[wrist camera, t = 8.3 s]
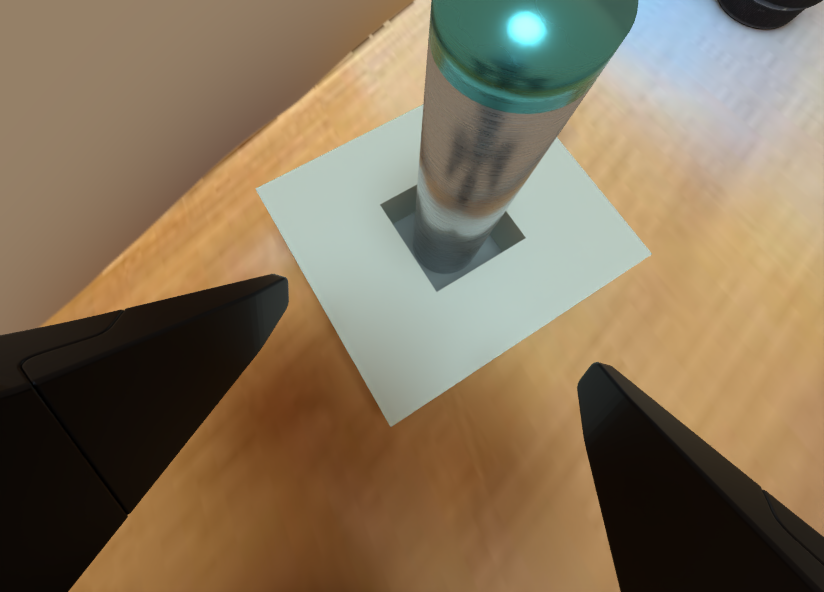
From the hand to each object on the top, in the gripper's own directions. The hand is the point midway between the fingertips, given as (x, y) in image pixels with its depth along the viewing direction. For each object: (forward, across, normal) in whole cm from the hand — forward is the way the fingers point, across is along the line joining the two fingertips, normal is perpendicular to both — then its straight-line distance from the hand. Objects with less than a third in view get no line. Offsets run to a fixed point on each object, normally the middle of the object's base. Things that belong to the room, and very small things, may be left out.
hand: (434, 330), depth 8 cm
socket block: (+12, 0, +2) cm, 12 cm away
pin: (+11, 0, +1) cm, 11 cm away
